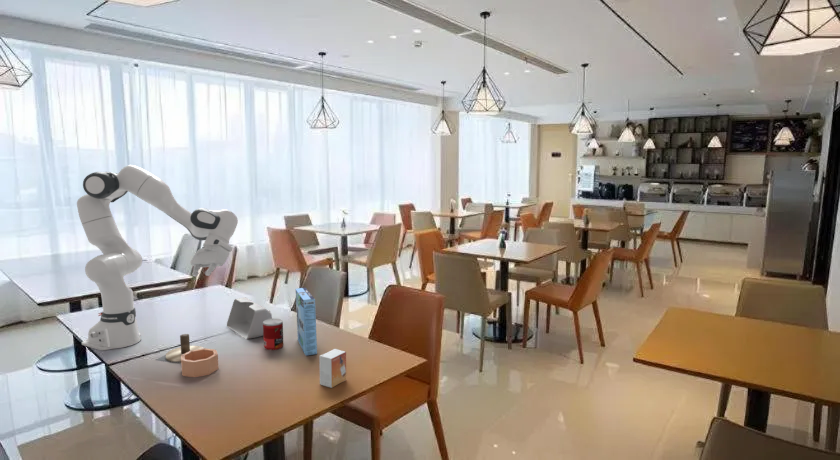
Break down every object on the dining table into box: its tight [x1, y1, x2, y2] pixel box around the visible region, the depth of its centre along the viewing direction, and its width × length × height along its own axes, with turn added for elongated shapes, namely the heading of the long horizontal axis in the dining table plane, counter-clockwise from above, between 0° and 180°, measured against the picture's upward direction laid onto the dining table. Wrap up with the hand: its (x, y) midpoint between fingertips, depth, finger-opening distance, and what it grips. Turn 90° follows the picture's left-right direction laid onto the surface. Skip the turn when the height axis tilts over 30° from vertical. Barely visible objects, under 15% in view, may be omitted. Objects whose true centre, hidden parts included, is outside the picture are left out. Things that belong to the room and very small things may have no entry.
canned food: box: [262, 318, 284, 351], centre depth 200 cm, size 8×8×11 cm
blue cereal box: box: [295, 287, 318, 357], centre depth 200 cm, size 20×5×23 cm, turn 23°
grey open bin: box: [226, 297, 273, 340], centre depth 222 cm, size 25×16×12 cm, turn 41°
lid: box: [165, 333, 204, 363], centre depth 191 cm, size 14×14×8 cm
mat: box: [155, 354, 181, 365], centre depth 191 cm, size 15×15×1 cm
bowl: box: [180, 347, 219, 378], centre depth 177 cm, size 12×12×6 cm
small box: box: [318, 348, 347, 389], centre depth 169 cm, size 8×6×10 cm
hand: (200, 275), depth 197 cm, fingers open, 8 cm apart
